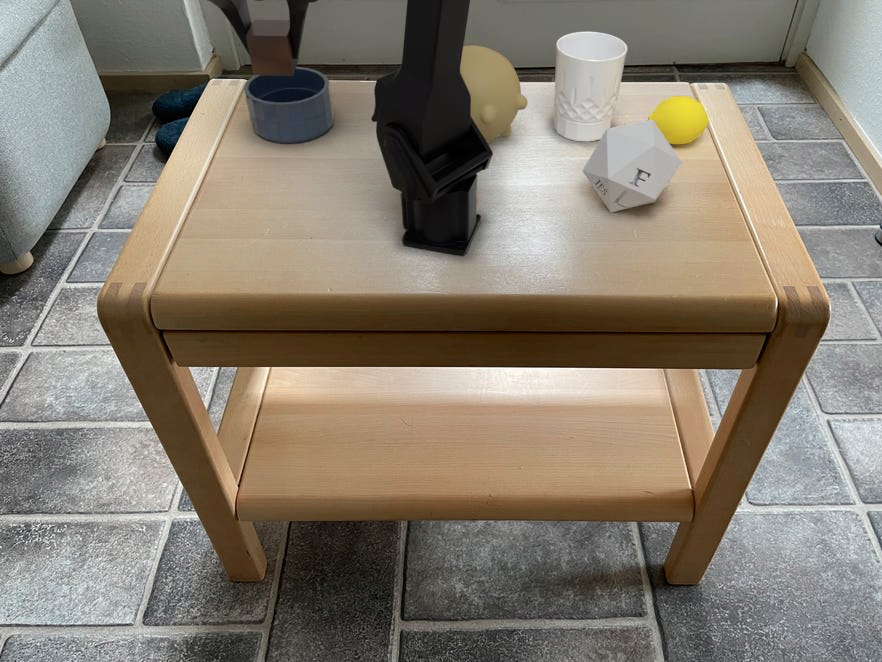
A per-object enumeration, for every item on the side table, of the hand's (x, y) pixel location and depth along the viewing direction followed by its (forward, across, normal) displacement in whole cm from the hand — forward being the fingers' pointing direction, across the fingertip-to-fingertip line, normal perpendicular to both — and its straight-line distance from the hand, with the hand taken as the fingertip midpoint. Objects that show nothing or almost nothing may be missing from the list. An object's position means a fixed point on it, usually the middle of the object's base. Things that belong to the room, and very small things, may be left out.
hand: (274, 57), depth 76 cm
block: (+1, 0, 0) cm, 1 cm away
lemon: (+11, +44, +4) cm, 46 cm away
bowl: (+11, -1, +7) cm, 13 cm away
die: (+11, +37, -9) cm, 39 cm away
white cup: (+11, +34, +6) cm, 36 cm away
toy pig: (+11, +21, +4) cm, 24 cm away
